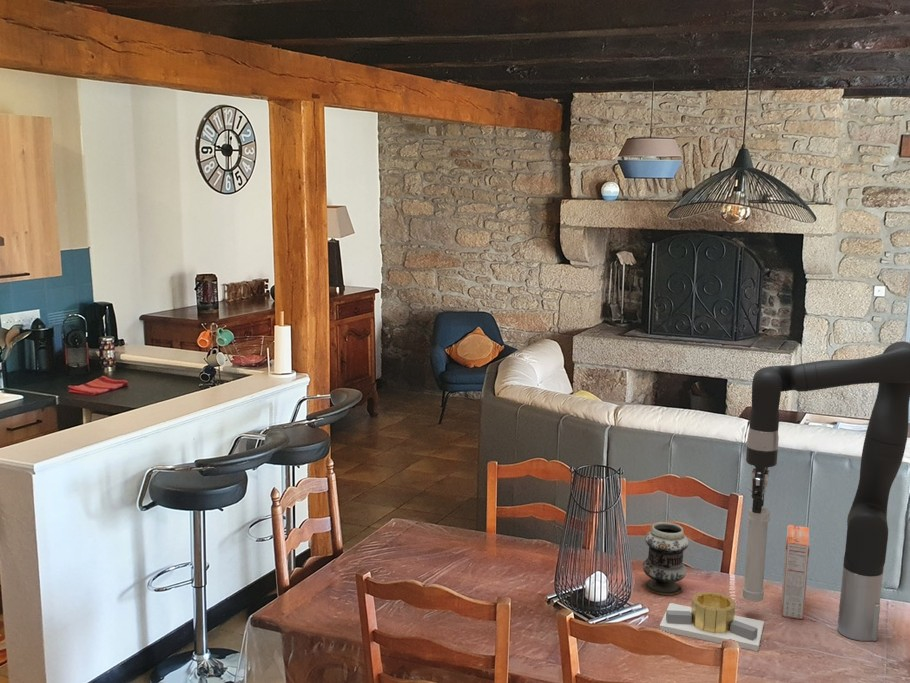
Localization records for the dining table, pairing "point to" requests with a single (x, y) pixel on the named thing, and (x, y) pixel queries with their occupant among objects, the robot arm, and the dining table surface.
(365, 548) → the dining table surface
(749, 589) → the pipe
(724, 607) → the collar
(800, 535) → the cracker box
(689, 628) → the shaft base
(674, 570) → the apothecary jar
